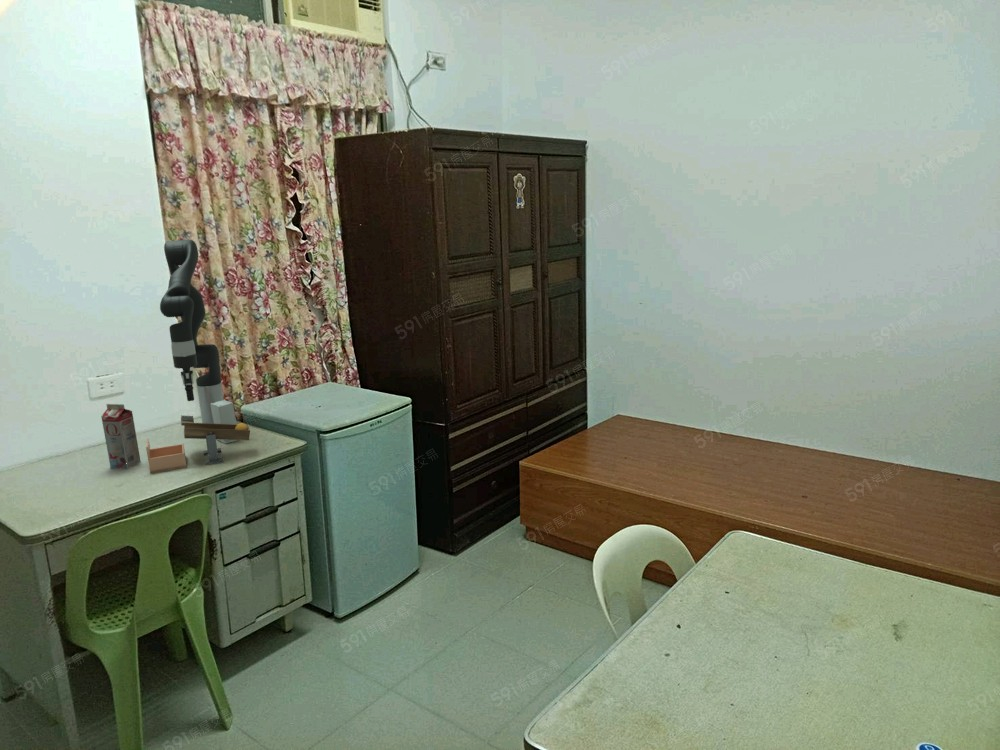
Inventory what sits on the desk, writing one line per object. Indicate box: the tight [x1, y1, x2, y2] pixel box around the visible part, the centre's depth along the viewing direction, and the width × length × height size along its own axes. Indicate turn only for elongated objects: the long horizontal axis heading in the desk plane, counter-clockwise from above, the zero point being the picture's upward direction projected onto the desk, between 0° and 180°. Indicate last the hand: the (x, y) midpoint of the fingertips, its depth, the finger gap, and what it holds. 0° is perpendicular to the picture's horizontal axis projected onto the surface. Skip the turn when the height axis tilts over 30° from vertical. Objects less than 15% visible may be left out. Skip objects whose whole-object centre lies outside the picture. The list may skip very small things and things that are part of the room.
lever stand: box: [202, 433, 225, 466], centre depth 246 cm, size 14×6×10 cm, turn 25°
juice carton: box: [101, 403, 142, 470], centre depth 241 cm, size 7×7×22 cm
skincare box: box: [210, 399, 239, 444], centre depth 264 cm, size 8×6×15 cm
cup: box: [145, 438, 187, 474], centre depth 241 cm, size 11×11×9 cm
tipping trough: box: [180, 415, 251, 441], centre depth 250 cm, size 18×22×4 cm
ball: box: [235, 422, 247, 430], centre depth 250 cm, size 4×4×4 cm
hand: (190, 397), depth 248 cm, fingers open, 8 cm apart
